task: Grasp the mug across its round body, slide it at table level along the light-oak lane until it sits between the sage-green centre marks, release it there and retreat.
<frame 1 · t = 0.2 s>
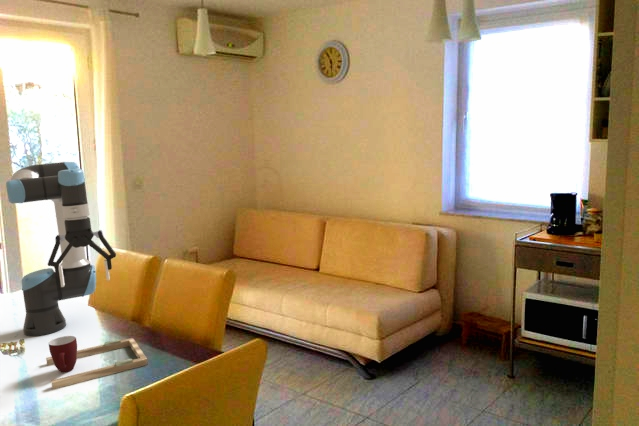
hand: (85, 282, 181), 27 cm above the table, fingers open, 13 cm apart
track: (96, 364, 184), on the table
mug: (66, 372, 180), on the table
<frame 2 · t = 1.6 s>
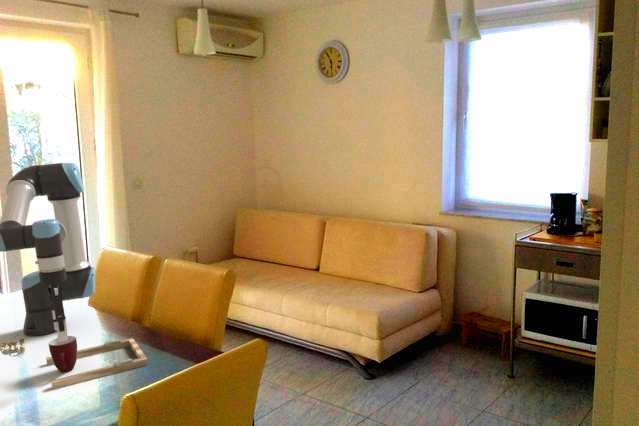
hand: (61, 334, 178), 12 cm above the table, fingers open, 13 cm apart
nothing on the table moved.
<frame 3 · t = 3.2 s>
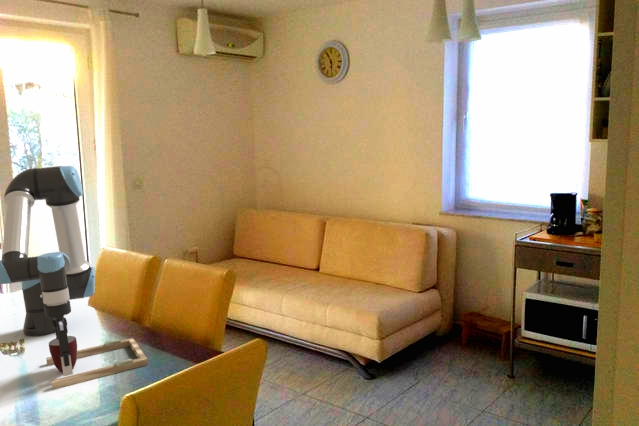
hand: (66, 368, 180), 1 cm above the table, fingers closed on mug, 10 cm apart
mug: (66, 372, 180), on the table, touching gripper
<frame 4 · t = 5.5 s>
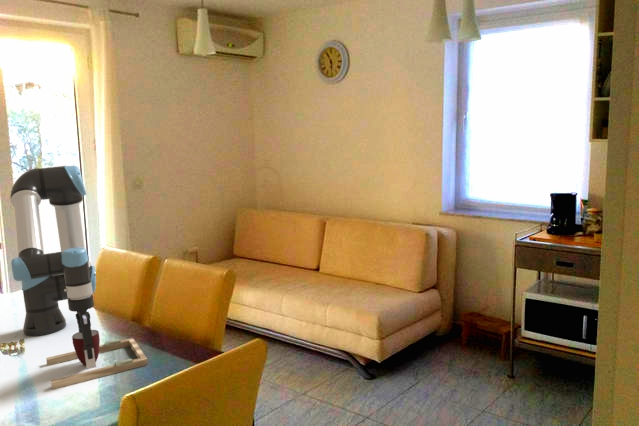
hand: (89, 361, 183), 1 cm above the table, fingers closed on mug, 10 cm apart
mug: (89, 365, 183), on the table, touching gripper
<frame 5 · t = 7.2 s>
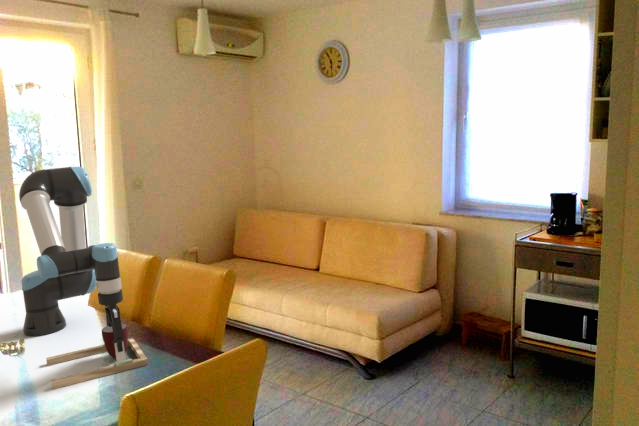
hand: (118, 354, 187), 1 cm above the table, fingers closed on mug, 10 cm apart
mug: (118, 358, 188), on the table, touching gripper
when the fingers open (1 cm above the table, at t = 8.4 s): mug stays where it is, on the table.
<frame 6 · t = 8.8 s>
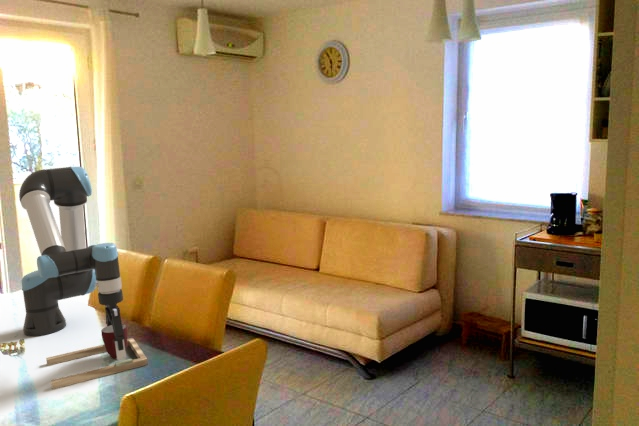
hand: (117, 352, 187), 2 cm above the table, fingers open, 13 cm apart
mug: (118, 358, 188), on the table
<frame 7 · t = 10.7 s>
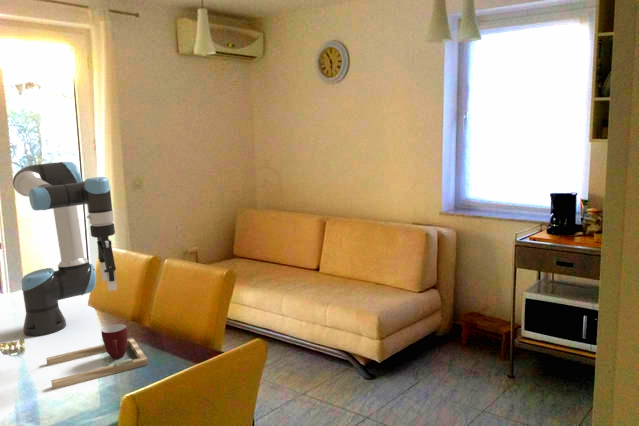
hand: (109, 285, 191), 23 cm above the table, fingers open, 13 cm apart
nothing on the table moved.
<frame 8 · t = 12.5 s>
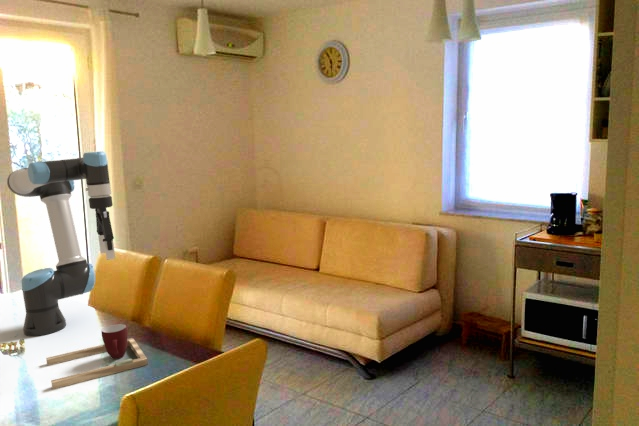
hand: (107, 255, 199), 32 cm above the table, fingers open, 13 cm apart
nothing on the table moved.
at the end: mug inside the target area (0.8 cm from its centre), on the table; mug tilted 0°; the gripper is holding nothing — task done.
